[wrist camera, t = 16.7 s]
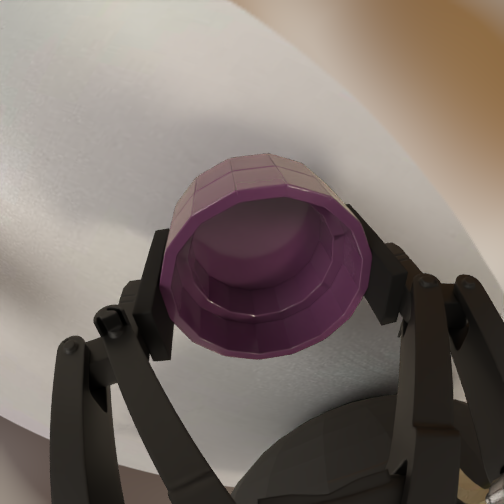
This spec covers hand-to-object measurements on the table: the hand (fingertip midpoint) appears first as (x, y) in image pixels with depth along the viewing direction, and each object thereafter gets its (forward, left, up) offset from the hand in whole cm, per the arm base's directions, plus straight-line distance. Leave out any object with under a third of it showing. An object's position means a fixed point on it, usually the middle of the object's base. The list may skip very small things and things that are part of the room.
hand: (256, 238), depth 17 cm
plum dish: (0, 0, 0) cm, 0 cm away
